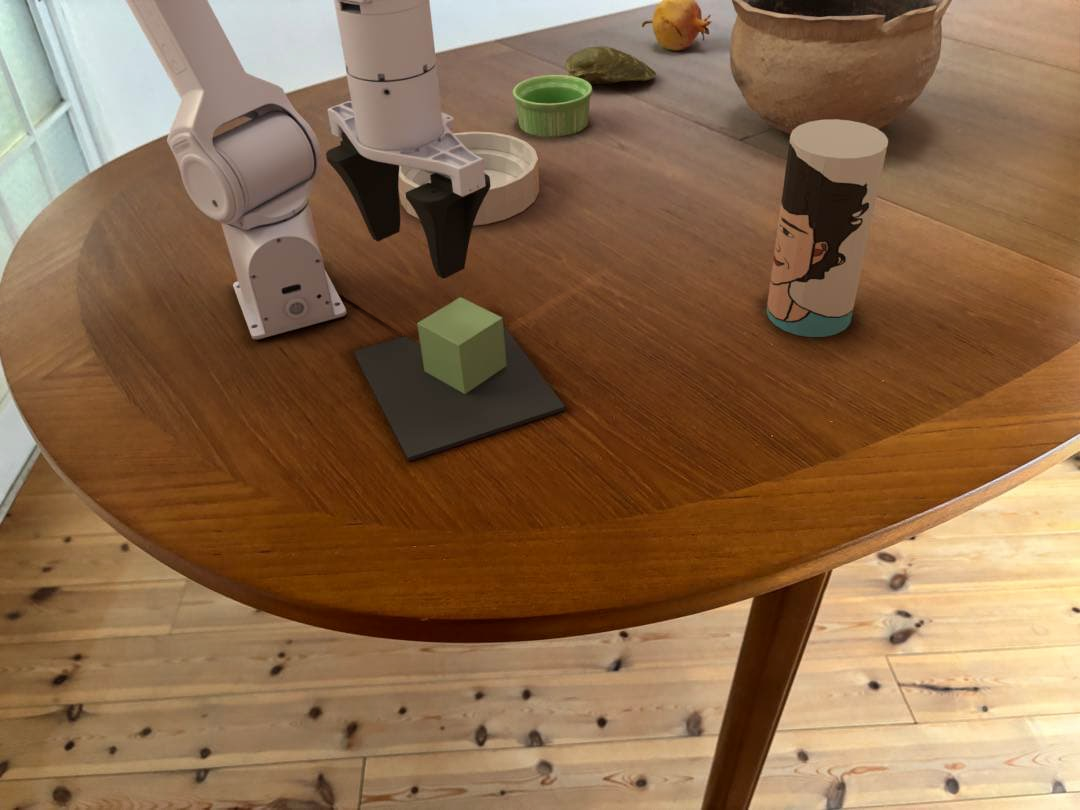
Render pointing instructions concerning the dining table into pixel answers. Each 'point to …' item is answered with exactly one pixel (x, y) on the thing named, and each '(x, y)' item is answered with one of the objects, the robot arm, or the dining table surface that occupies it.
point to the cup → (824, 225)
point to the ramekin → (553, 105)
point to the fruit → (678, 23)
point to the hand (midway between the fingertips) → (417, 253)
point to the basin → (490, 175)
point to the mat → (452, 397)
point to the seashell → (607, 66)
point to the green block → (462, 344)
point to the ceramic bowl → (834, 58)
